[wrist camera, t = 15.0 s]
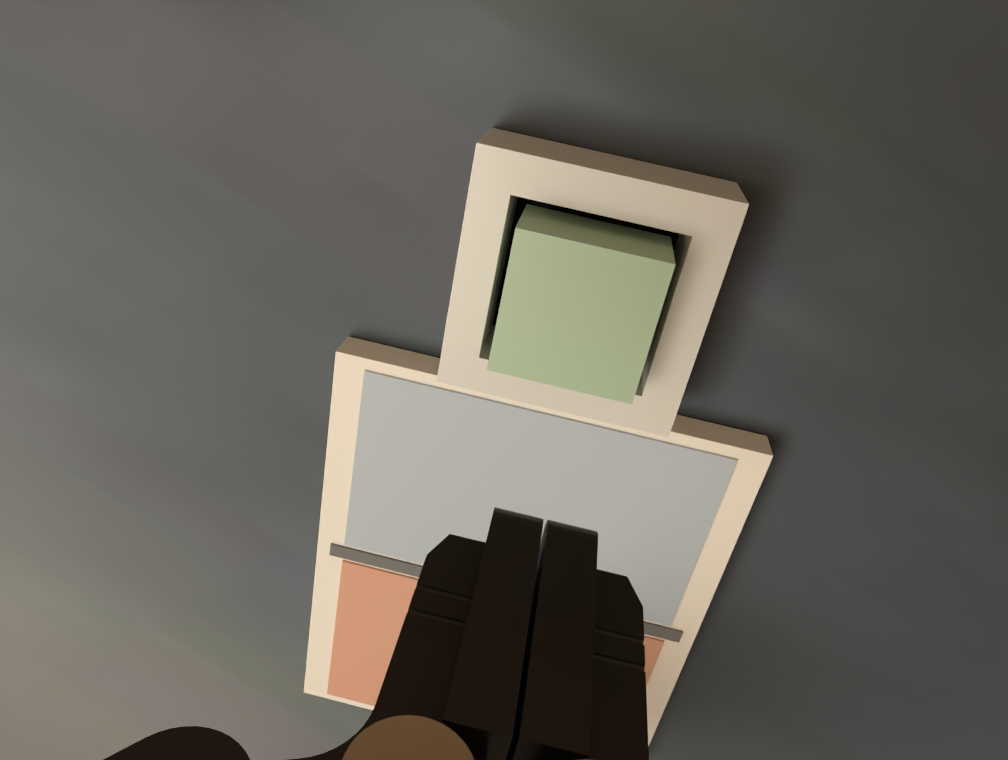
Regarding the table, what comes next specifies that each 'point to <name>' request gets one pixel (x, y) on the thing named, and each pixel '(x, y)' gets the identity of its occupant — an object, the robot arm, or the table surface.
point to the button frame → (607, 192)
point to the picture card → (509, 508)
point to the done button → (580, 303)
